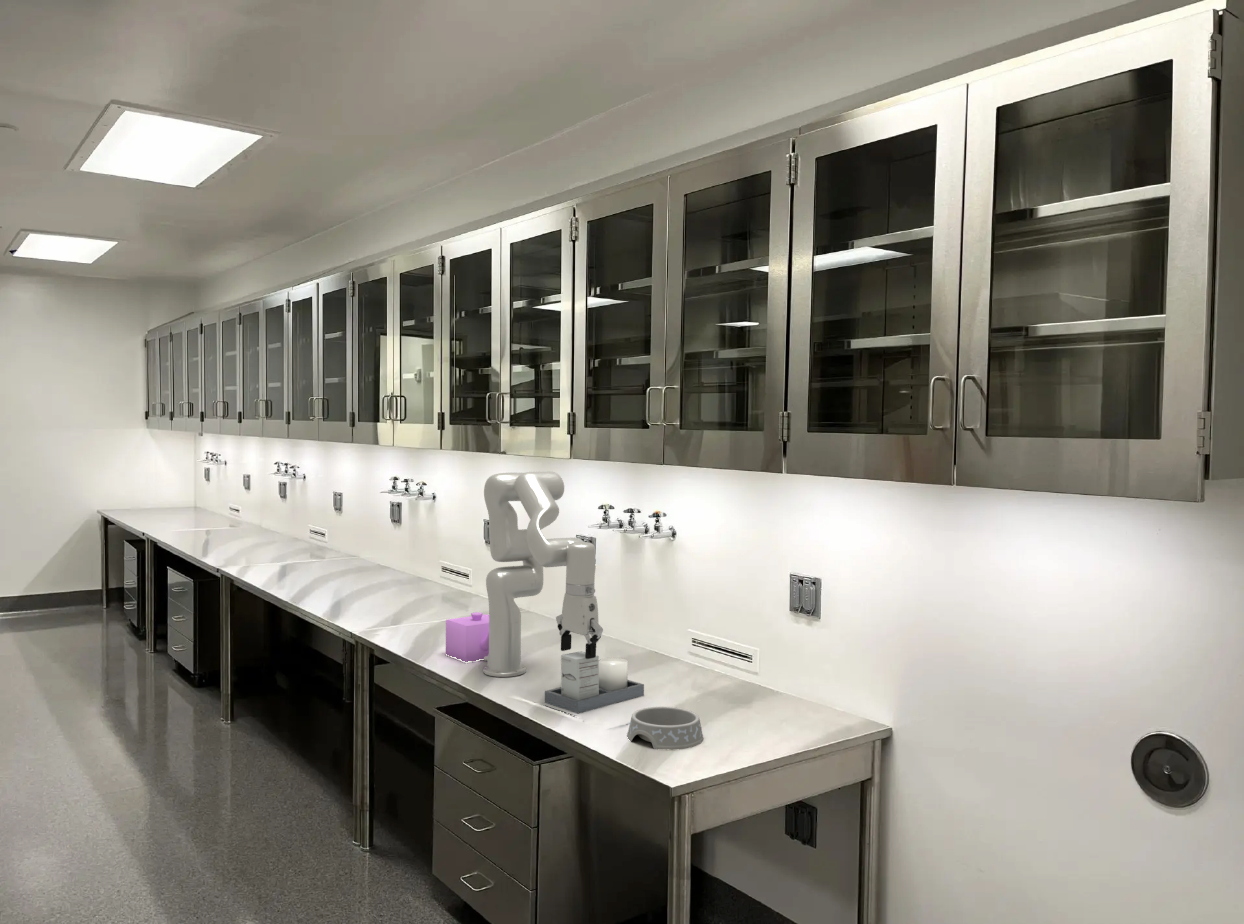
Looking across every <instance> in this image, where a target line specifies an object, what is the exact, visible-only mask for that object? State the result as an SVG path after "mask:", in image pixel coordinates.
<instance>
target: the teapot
mask: <svg viewBox="0 0 1244 924" xmlns="http://www.w3.org/2000/svg"><path fill="white" fill-rule="evenodd" d="M470 615H471V616H463V617H455V618H448V619H446V620H445V655H446V654H447V655H449V656H452V657H456V658H457V659H461V660H462V661H465V662H468V661H476V660H479V659H484V657H485V656H487V655H488V654H489V614H487V613H486V614H484V613H483V612H480V611H479V612H478V611H476V612H471V613H470Z"/></svg>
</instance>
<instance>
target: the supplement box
mask: <svg viewBox="0 0 1244 924" xmlns="http://www.w3.org/2000/svg"><path fill="white" fill-rule="evenodd" d="M599 658H600V656H599V655H598V654H596V657H595V658H590V659H586V658H585V651H574V652H570V653H565V654H561V655H560V661H561V662H560V665H561V667H560V668H561V669H560V671H561V672H560V673H561V674H560V675H561V682H560V687H561V695H564V696H567V697H570V698H573V699H576V700H581V699H585V698H588V697H592V696H596V695H599V660H600V659H599Z"/></svg>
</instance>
